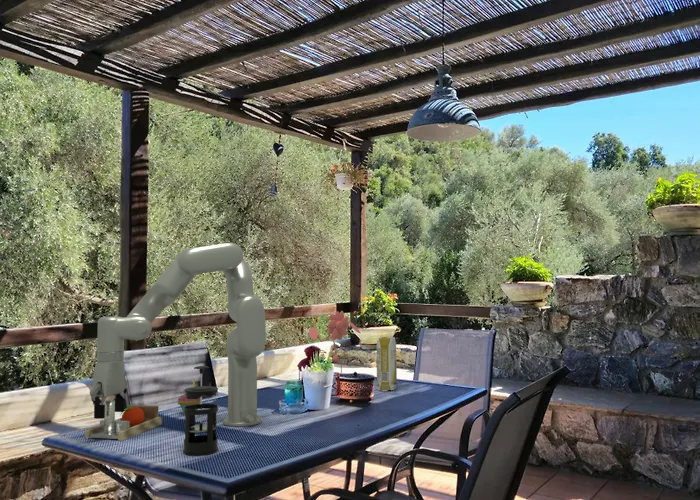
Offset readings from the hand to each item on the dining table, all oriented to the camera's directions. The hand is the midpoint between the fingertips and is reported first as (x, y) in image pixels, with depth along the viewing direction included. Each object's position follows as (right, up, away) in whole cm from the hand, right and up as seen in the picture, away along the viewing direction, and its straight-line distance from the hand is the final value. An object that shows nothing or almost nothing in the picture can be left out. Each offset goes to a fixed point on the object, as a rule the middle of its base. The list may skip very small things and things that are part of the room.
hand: (109, 414), depth 179 cm
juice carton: (+89, -12, +81) cm, 121 cm away
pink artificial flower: (+68, -11, +72) cm, 100 cm away
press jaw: (0, -6, 0) cm, 6 cm away
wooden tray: (+2, -7, +8) cm, 11 cm away
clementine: (+3, -8, +11) cm, 14 cm away
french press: (+31, -6, -16) cm, 36 cm away
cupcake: (+15, -9, +35) cm, 39 cm away
